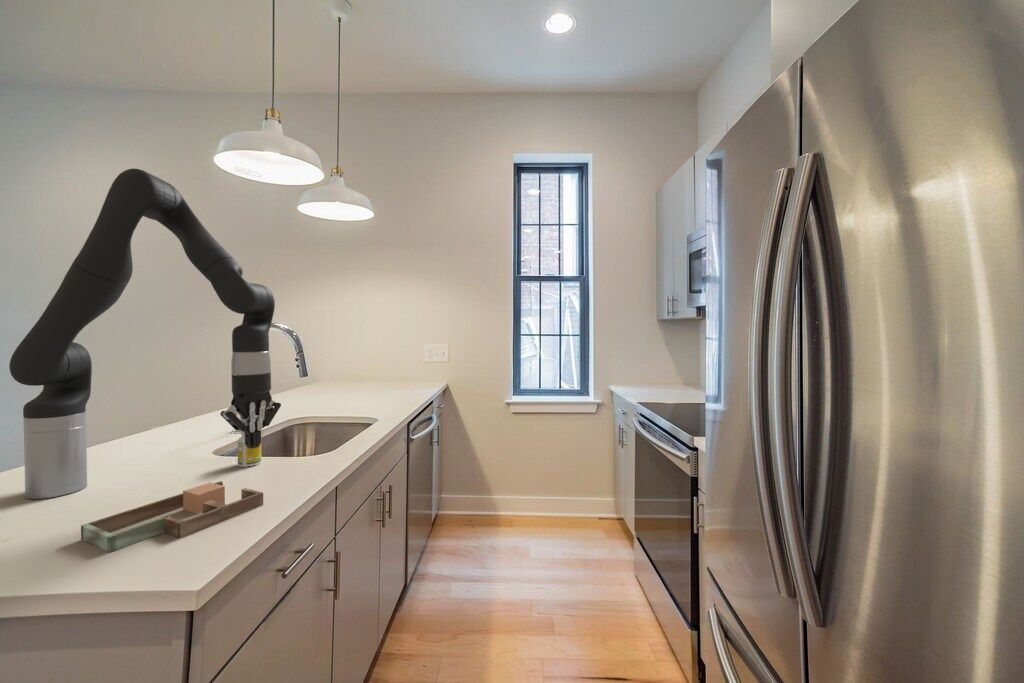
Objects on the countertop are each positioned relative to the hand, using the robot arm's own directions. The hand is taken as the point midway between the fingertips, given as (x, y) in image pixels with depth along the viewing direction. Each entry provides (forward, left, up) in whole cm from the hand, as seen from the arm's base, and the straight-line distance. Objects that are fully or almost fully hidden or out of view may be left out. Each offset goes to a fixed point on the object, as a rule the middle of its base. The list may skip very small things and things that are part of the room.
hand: (253, 447), depth 93 cm
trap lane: (+2, -16, -10) cm, 18 cm away
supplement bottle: (-18, +11, -10) cm, 23 cm away
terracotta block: (0, -10, -10) cm, 14 cm away
